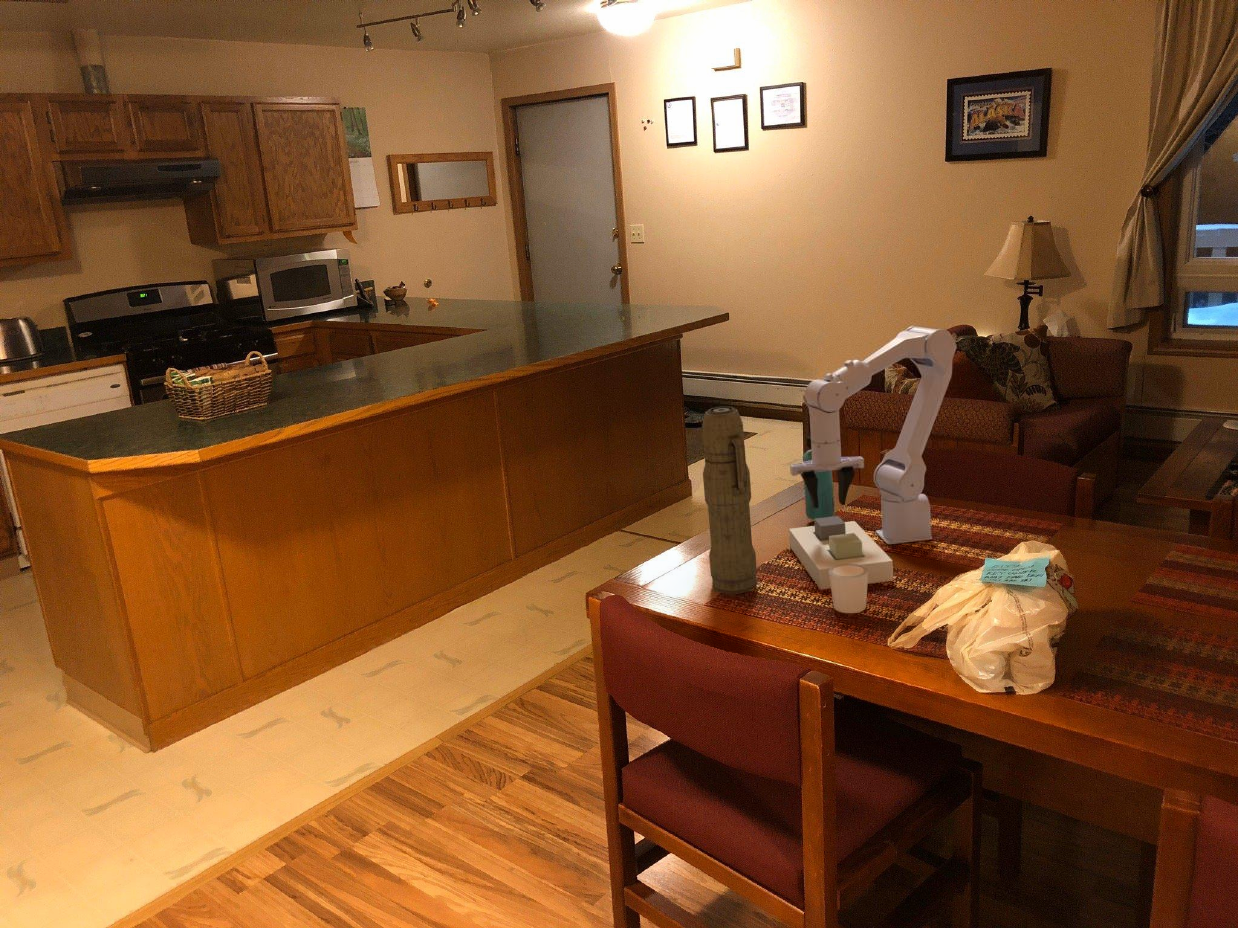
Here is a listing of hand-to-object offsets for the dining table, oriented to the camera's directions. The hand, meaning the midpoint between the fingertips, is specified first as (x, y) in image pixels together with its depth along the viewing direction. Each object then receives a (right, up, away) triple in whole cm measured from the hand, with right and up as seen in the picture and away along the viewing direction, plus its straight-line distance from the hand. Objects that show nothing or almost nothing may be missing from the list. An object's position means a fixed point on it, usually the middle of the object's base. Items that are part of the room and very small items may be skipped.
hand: (828, 505), depth 198 cm
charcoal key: (+1, -6, +2) cm, 6 cm away
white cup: (-1, -17, -23) cm, 29 cm away
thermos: (-20, -15, -8) cm, 27 cm away
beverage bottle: (+3, -5, +22) cm, 22 cm away
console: (+1, -11, -3) cm, 12 cm away
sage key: (+1, -9, -9) cm, 13 cm away
